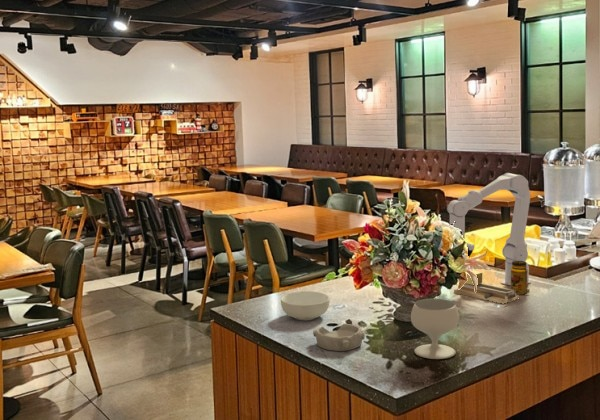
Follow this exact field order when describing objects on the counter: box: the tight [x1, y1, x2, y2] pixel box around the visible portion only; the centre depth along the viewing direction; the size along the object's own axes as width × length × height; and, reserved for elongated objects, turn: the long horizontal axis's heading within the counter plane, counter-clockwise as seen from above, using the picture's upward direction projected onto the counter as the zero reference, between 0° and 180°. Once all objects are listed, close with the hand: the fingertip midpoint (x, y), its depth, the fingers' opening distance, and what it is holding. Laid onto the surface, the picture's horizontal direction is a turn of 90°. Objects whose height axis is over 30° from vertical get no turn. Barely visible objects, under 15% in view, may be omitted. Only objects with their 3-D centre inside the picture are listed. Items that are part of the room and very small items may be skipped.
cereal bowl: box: [280, 290, 330, 321], centre depth 247 cm, size 17×17×7 cm
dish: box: [312, 323, 366, 352], centre depth 218 cm, size 14×14×5 cm
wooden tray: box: [453, 282, 520, 305], centre depth 267 cm, size 12×22×4 cm, turn 40°
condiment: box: [510, 261, 531, 296], centre depth 270 cm, size 7×8×12 cm
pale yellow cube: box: [466, 270, 483, 286], centre depth 271 cm, size 5×5×5 cm
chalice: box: [410, 298, 460, 360], centre depth 208 cm, size 14×14×15 cm
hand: (457, 265), depth 276 cm, fingers open, 6 cm apart
